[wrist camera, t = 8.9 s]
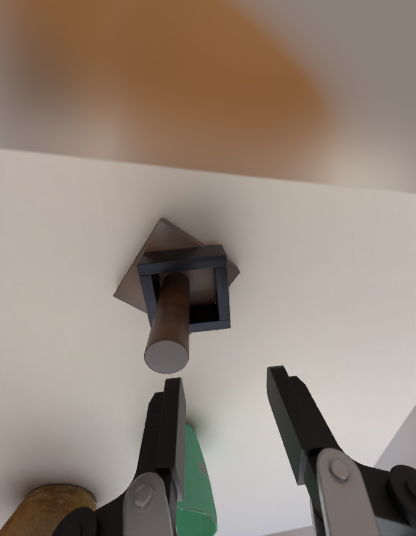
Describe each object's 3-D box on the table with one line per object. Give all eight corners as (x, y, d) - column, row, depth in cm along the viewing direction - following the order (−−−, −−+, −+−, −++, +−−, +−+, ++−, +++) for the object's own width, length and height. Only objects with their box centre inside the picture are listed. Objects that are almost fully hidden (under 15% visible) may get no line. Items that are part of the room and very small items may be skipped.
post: (161, 216, 21) (133, 257, 11) (237, 266, 23) (273, 337, 13) (117, 289, 23) (60, 377, 13) (189, 326, 26) (188, 426, 16)
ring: (222, 244, 21) (226, 255, 18) (226, 310, 23) (230, 328, 21) (143, 252, 20) (136, 264, 18) (157, 317, 23) (152, 337, 20)
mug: (134, 416, 31) (110, 520, 22) (204, 404, 31) (209, 502, 22) (161, 474, 37) (151, 574, 27) (220, 463, 37) (229, 560, 27)
